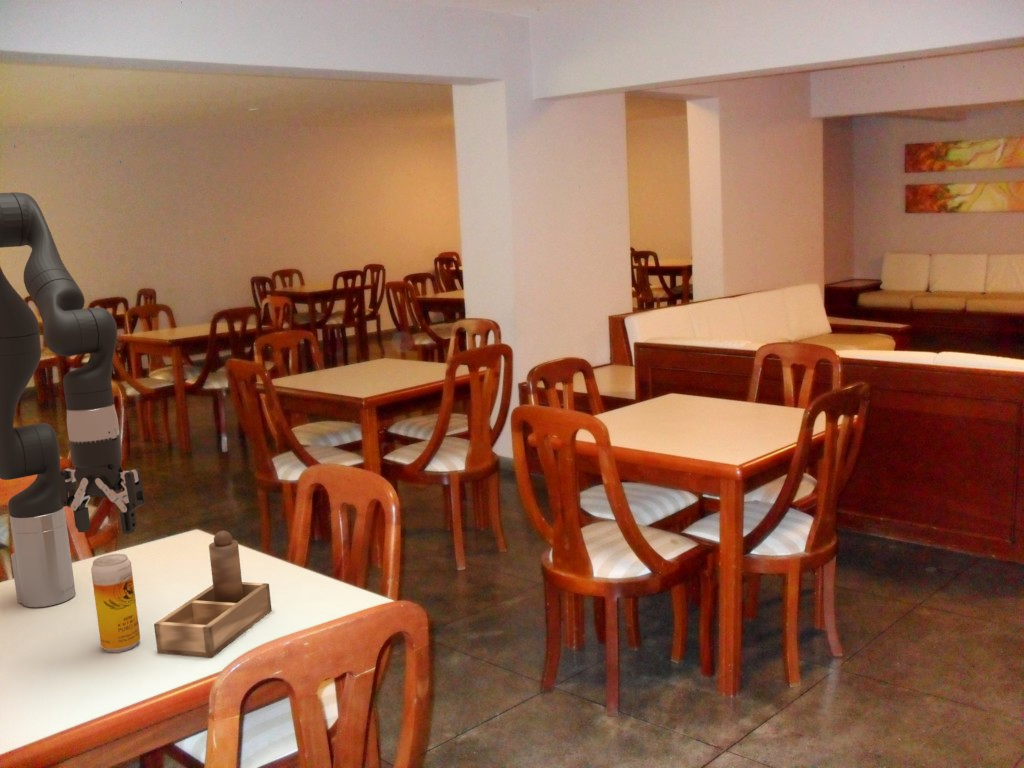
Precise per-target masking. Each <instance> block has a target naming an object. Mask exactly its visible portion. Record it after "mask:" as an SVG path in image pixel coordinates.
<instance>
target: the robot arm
mask: <svg viewBox="0 0 1024 768" xmlns="http://www.w3.org/2000/svg"><path fill="white" fill-rule="evenodd" d="M25 246H29V248H31V252H30V255H29V257H28V259H27V262H26V264H25V266H24V270H23V284H24V288H25V289H26V292H27V294H28V296H29V297H30V298H31V300H32V302H34V303H33V304H34V305H35V306H36V308H37V309H38V312H39V314H40V318H41V322H42V329H43V337H44V342H45V345H46V347H47V349H49V351H51V353H53V354H55V355H57V356H60V357H73V356H79V355H87V354H90V355H89V358H88V360H87V362H86V363H85V364H84V365H82V367H79V368H76V369H74V370H70V371H69V372H67V373H66V374H65V375H64V376H63V379H62V384H63V385H62V387H63V392H64V399H65V406H66V407H65V408H66V427H67V428H66V429H67V436H68V445H69V451H70V457H71V464H72V466H73V467H72V466H71V467H67V468H65V469H62V470H61V467H62V466H61V453H60V443H59V439H58V436H57V433H56V431H55V429H54V428H53V427H52V425H51V424H49V423H46V422H40V423H34V424H28V425H22V426H16V427H15V426H14V424H15V423H14V420H15V415H16V409H17V406H18V404H19V401H20V399H21V397H22V395H23V394H24V391H25V389H26V387H28V384H29V383H30V382H31V379H32V378H33V376H34V374H35V372H36V371H37V369H38V366H39V364H40V361H41V358H42V347H41V346H42V345H41V333H40V324H39V320H38V317H37V316H36V314H35V313H34V311H33V310H32V308H31V307H30V305H29V304H28V303H27V301H25V300H24V299H23V297H22V296H21V295H20V294H19V293H18V292H17V290H16V289H15V288H14V287H13V285H12V284H11V283H10V281H9V280H8V279H7V277H6V275H5V273H4V272H3V269H2V268H1V267H2V266H0V480H4V481H10V480H17V479H21V478H27V477H31V476H36V477H35V480H33V482H32V483H30V484H29V486H28V487H26V488H24V489H23V490H21V491H20V492H18V493H16V494H15V495H13V496H12V497H11V498H10V499H9V500H8V503H7V507H8V513H9V514H8V515H9V522H10V527H11V528H10V529H11V535H12V541H13V542H12V543H13V549H14V552H13V553H11V554H10V558H11V566H12V567H11V568H12V573H13V579H14V586H15V594H16V600H17V601H16V602H17V604H18V603H19V604H22V605H23V606H24V607H28V608H44V607H51V606H55V605H58V604H62V603H64V602H67V601H68V600H71V599H72V598H73V597H75V595H76V586H75V585H76V584H75V578H74V569H73V563H72V562H73V561H72V554H71V547H70V540H69V533H68V525H67V518H66V510H65V507H68V508H70V509H71V511H73V517H74V518H73V519H74V525H75V526H74V527H75V528H76V529H77V532H78V533H85V532H87V531H90V529H91V521H90V512H89V507H88V506H87V505H88V504H89V502H90V499H91V498H96V497H99V498H104V499H105V498H108V500H109V501H110V502H111V503H114V504H115V505H116V506H117V508H119V510H120V511H121V512H120V513H119V515H120V522H121V531H122V534H123V535H130V534H133V533H134V532H135V531H136V529H137V525H138V524H137V520H136V509H137V508H139V507H141V506H144V505H145V504H146V496H145V491H144V485H143V479H142V474H141V471H140V469H139V468H135V469H131V470H124V468H123V467H122V460H123V449H122V442H121V433H120V426H119V418H118V415H117V414H118V413H117V410H116V407H115V406H116V405H115V400H114V392H113V383H112V373H113V366H114V365H113V364H114V356H115V353H116V352H115V351H116V346H117V342H118V341H117V340H118V326H117V321H116V319H115V318H114V316H113V315H112V313H111V312H110V311H109V310H107V309H106V308H104V307H88V308H84V307H85V301H86V300H85V296H84V294H83V291H82V289H81V288H80V286H78V284H77V282H76V280H74V278H73V277H72V275H71V274H70V271H69V270H68V269H67V267H66V266H65V264H64V263H63V260H62V258H61V255H60V254H59V253H60V252H59V250H58V248H57V245H56V243H55V240H54V238H53V235H52V232H51V230H50V228H49V225H48V223H47V221H46V218H45V215H44V213H43V212H42V210H41V208H40V206H39V204H38V202H37V201H36V200H35V198H34V197H32V195H31V194H28V193H26V192H25V193H24V192H19V191H18V192H17V191H15V192H12V191H11V192H0V248H13V247H25ZM74 467H75V468H74ZM77 483H78V485H79V486H78V488H77ZM117 492H118V493H117Z"/></svg>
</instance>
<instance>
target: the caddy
mask: <svg viewBox="0 0 1024 768" xmlns="http://www.w3.org/2000/svg"><path fill="white" fill-rule="evenodd" d="M208 551H209V561H210V568H211V569H210V571H211V577H212V585H211V586H209V587H207V588H205V589H204V590H203V591H202V592H200V593H198V594H196V595H195V596H194V597H192V598H191V599H189V600H188V601H186V602H185V603H183V604H182V605H179V607H176V608H175V609H174V610H173V611H171V612H170V613H168V614H167V615H165V616H164V617H162V618H161V619H159V620H158V621H156V622H155V623H154V625H153V627H154V634H155V645H156V652H157V653H156V654H163V655H175V656H187V657H188V656H189V657H199V658H213V657H215V656H216V655H217V654H218V653H219V652H221V651H222V650H223V649H225V648H227V646H229V644H231V643H232V642H234V641H235V640H236V639H238V637H240V636H241V635H243V634H244V633H245V632H247V630H249V629H250V628H251V627H252V626H254V625H255V624H256V623H258V622H259V621H260V620H262V619H263V618H264V617H265V616H266V615H268V614H269V613H271V612H272V601H271V591H270V590H271V589H270V583H267V582H266V583H265V582H264V583H263V582H248V581H243V580H242V579H243V577H242V569H241V558H240V550H239V541H238V540H236V539H233V536H232V535H231V533H230V532H229V531H227V530H220V531H218V532H217V533H216V534H215V535H214V537H213V542H211V543H209V545H208Z"/></svg>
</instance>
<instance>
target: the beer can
mask: <svg viewBox="0 0 1024 768" xmlns="http://www.w3.org/2000/svg"><path fill="white" fill-rule="evenodd" d="M90 572H91V579H92V587H93V595H94V602H95V609H96V610H95V612H96V618H97V626H98V633H99V641H100V646H101V647H102V648H103V649H104V650H105V652H109V653H121V652H125V651H129V650H131V649H133V648H135V647H136V646H137V645H138V642H139V640H140V639H141V633H140V625H139V616H138V615H139V614H138V610H137V609H138V607H137V600H136V593H135V583H134V578H133V577H134V576H133V575H134V574H133V567H132V562H131V560H130V559H129V557H128V555H127V554H125V553H111V554H106V555H105V554H104V555H102V556H99V557H97V558H95V559H94V560H93V561H92V565H91V567H90Z"/></svg>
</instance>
